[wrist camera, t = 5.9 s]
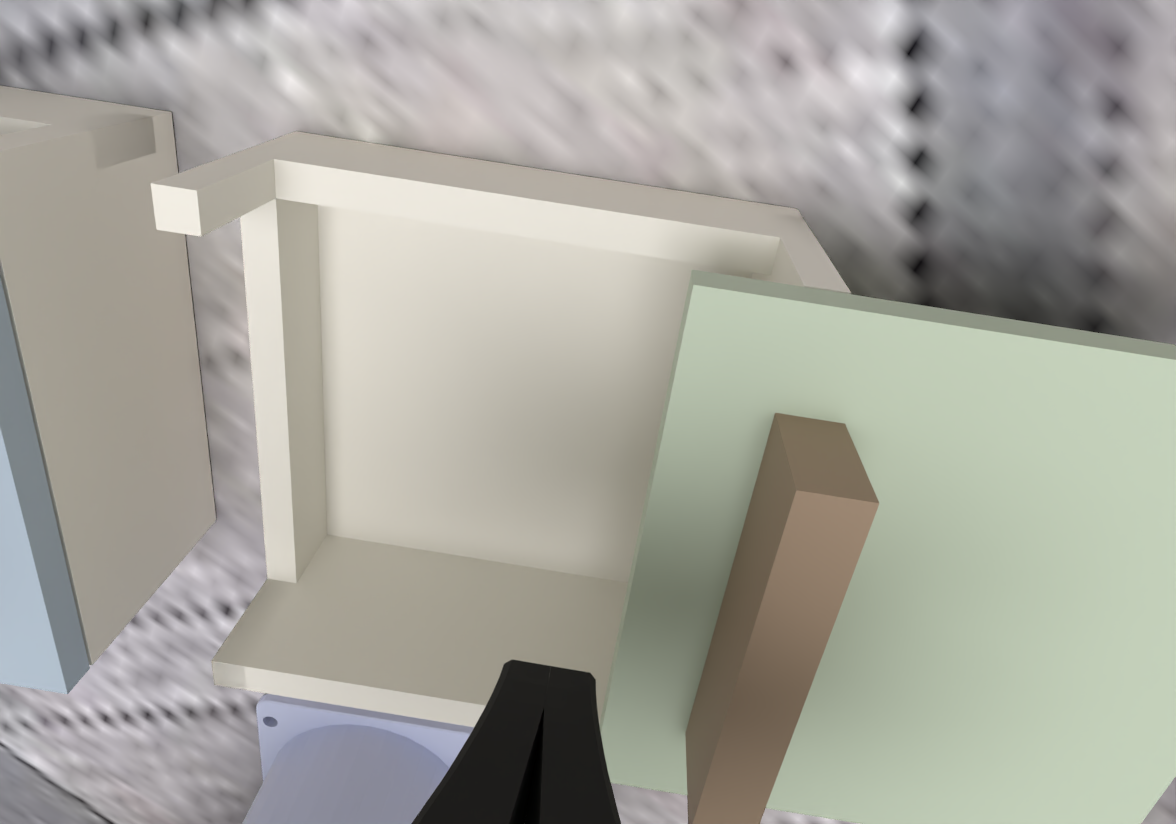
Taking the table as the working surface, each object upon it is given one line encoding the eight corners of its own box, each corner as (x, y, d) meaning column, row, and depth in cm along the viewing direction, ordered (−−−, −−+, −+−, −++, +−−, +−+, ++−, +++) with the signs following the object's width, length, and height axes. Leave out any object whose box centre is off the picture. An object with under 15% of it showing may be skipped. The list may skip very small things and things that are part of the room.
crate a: (696, 597, 24) (706, 764, 19) (311, 535, 24) (214, 685, 19) (797, 208, 19) (851, 292, 13) (295, 131, 19) (150, 183, 13)
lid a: (1093, 832, 19) (1170, 979, 16) (593, 750, 19) (582, 883, 16) (1408, 381, 13) (1614, 486, 10) (691, 269, 13) (699, 342, 10)
